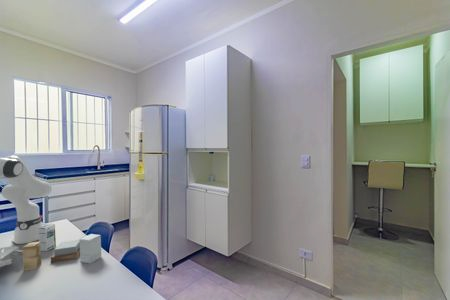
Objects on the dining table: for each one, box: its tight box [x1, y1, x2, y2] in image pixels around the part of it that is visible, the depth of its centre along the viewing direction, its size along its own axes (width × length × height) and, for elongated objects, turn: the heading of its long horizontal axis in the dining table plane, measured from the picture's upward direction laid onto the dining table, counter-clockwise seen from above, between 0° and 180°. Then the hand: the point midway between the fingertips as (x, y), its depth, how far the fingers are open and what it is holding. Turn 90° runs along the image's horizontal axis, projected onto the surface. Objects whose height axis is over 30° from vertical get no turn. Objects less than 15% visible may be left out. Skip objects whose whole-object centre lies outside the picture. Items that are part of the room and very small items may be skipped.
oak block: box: [22, 241, 42, 271], centre depth 110 cm, size 5×5×12 cm
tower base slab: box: [50, 248, 80, 264], centre depth 122 cm, size 12×12×4 cm
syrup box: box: [38, 223, 57, 252], centre depth 131 cm, size 6×6×14 cm
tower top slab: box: [53, 239, 80, 256], centre depth 122 cm, size 10×10×4 cm
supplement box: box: [78, 233, 102, 264], centre depth 117 cm, size 7×7×13 cm
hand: (18, 256), depth 109 cm, fingers open, 8 cm apart
